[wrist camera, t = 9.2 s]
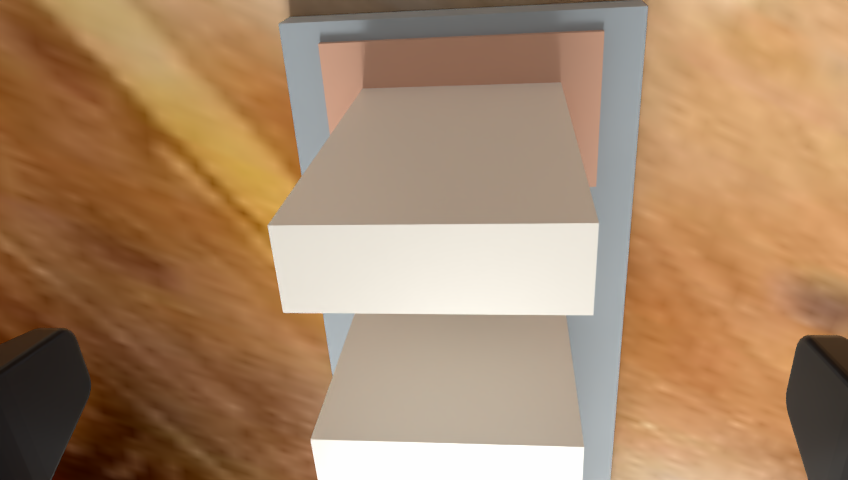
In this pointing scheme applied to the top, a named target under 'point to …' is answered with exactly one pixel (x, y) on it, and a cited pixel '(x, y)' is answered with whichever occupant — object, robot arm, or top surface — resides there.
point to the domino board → (503, 64)
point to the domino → (451, 400)
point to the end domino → (442, 208)
